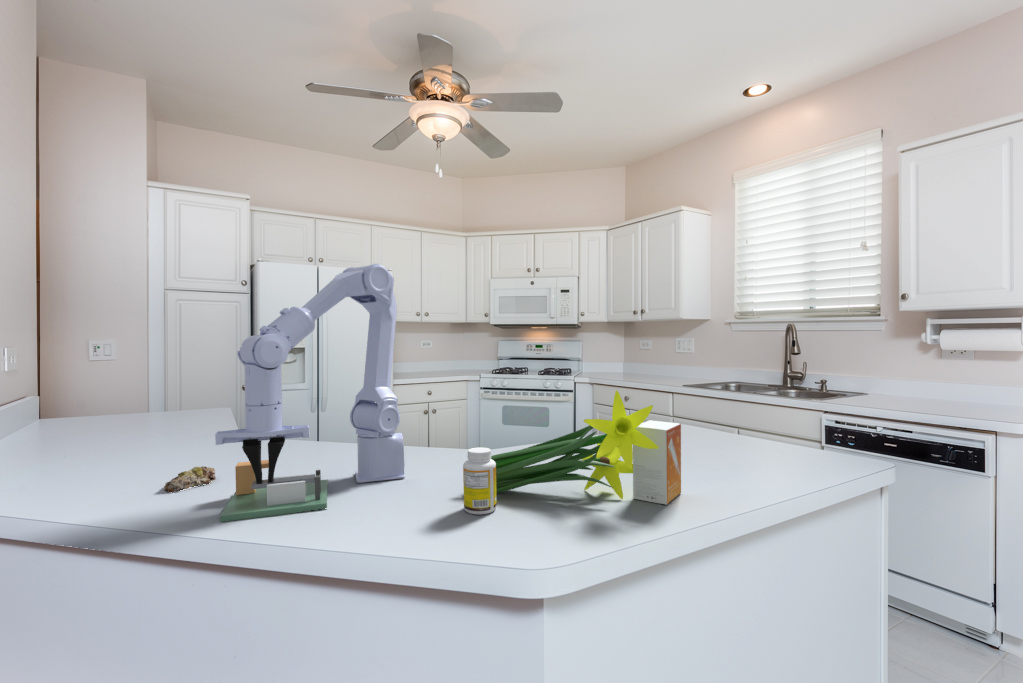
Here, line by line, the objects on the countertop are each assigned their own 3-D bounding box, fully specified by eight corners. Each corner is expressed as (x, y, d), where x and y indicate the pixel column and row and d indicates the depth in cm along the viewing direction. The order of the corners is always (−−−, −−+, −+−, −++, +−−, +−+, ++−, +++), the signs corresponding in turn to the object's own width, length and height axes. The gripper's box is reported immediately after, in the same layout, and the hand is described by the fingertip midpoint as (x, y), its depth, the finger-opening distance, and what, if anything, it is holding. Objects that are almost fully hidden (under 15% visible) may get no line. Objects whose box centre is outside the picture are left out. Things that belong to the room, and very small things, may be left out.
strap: (320, 477, 91) (320, 473, 91) (319, 482, 88) (319, 477, 88) (254, 484, 87) (253, 480, 87) (251, 490, 84) (251, 485, 84)
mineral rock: (190, 466, 106) (222, 457, 105) (196, 486, 106) (227, 477, 105) (145, 483, 96) (179, 473, 94) (152, 505, 96) (186, 495, 94)
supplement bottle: (482, 502, 88) (481, 444, 88) (503, 509, 84) (502, 449, 84) (457, 510, 84) (456, 449, 84) (477, 518, 80) (477, 455, 80)
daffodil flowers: (493, 479, 104) (659, 439, 98) (490, 540, 92) (680, 498, 86) (462, 421, 96) (641, 373, 90) (454, 479, 84) (662, 428, 77)
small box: (667, 506, 85) (666, 429, 85) (632, 499, 89) (631, 426, 88) (682, 493, 91) (681, 422, 91) (648, 487, 95) (648, 419, 95)
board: (327, 484, 99) (327, 459, 99) (326, 509, 85) (326, 480, 85) (237, 494, 94) (237, 467, 94) (220, 522, 80) (219, 491, 80)
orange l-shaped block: (274, 486, 95) (273, 459, 95) (272, 491, 92) (272, 463, 92) (239, 490, 93) (238, 462, 93) (236, 495, 90) (235, 466, 90)
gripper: (309, 398, 93) (310, 471, 93) (220, 403, 87) (221, 480, 88) (308, 403, 86) (309, 481, 86) (212, 408, 81) (213, 492, 81)
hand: (265, 481), depth 86 cm, fingers closed on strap
